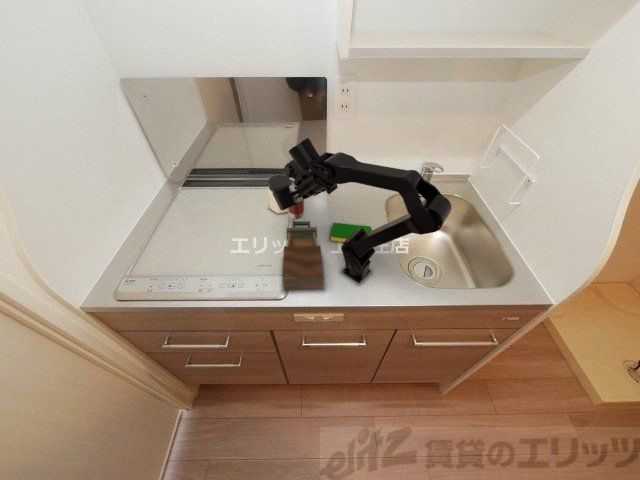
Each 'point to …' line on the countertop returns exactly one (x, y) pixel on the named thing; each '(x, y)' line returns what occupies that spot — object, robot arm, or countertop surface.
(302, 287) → the cabinet
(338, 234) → the dish sponge
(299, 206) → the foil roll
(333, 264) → the countertop surface
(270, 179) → the jar
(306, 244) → the drawer
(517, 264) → the countertop surface
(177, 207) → the countertop surface
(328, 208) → the countertop surface
